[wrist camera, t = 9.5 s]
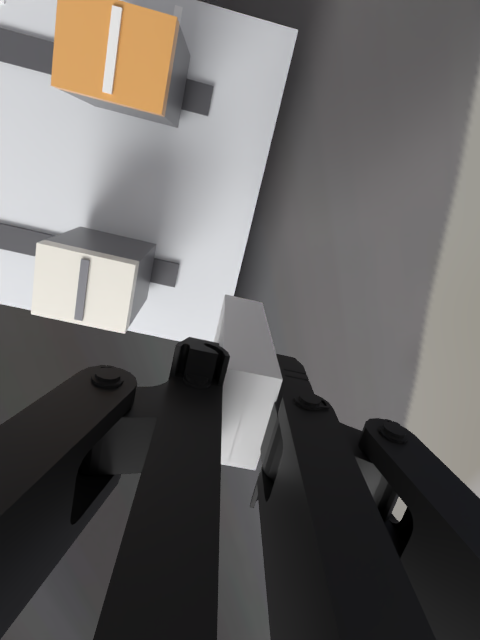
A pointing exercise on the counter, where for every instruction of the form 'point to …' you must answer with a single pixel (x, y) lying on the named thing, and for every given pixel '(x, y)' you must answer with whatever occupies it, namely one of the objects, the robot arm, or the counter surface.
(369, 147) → the counter surface
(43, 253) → the fader cream
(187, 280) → the panel
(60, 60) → the fader orange
